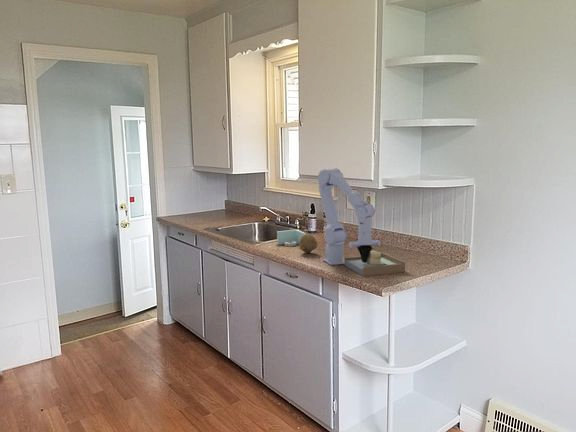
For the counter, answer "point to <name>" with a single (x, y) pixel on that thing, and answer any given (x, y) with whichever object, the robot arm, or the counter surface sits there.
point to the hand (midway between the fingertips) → (364, 262)
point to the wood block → (374, 258)
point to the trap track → (365, 269)
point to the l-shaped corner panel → (289, 237)
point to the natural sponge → (308, 243)
